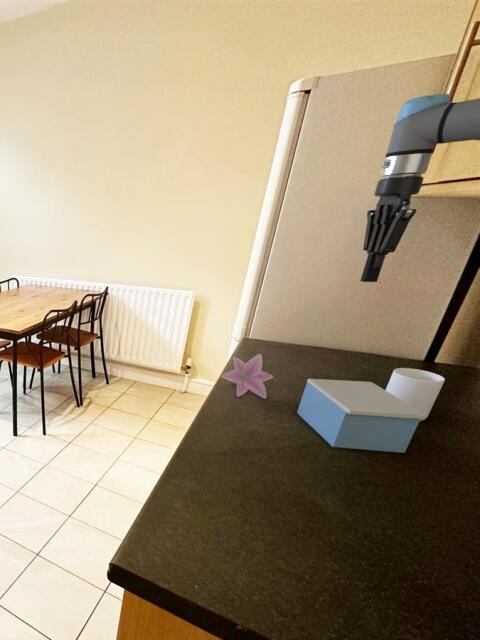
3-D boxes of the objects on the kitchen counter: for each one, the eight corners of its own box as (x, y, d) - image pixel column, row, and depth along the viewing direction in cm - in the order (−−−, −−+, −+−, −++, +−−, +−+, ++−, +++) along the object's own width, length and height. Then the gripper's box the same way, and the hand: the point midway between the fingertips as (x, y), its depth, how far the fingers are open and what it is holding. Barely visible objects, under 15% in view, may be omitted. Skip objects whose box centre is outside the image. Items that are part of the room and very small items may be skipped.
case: (404, 452, 84) (421, 417, 81) (332, 446, 87) (346, 412, 83) (357, 417, 98) (370, 385, 94) (296, 412, 101) (307, 381, 97)
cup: (381, 416, 98) (398, 377, 94) (371, 397, 107) (386, 361, 103) (431, 425, 93) (450, 384, 89) (416, 404, 103) (433, 366, 98)
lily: (208, 393, 114) (226, 372, 106) (219, 366, 120) (236, 344, 112) (254, 414, 110) (276, 393, 102) (262, 385, 116) (284, 363, 108)
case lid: (425, 419, 80) (426, 415, 79) (348, 414, 83) (350, 410, 82) (370, 385, 94) (371, 381, 94) (307, 381, 97) (308, 378, 97)
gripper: (363, 180, 101) (336, 278, 110) (401, 175, 90) (367, 285, 98) (401, 178, 100) (369, 277, 108) (444, 173, 88) (405, 285, 96)
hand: (368, 281), depth 103 cm, fingers closed
